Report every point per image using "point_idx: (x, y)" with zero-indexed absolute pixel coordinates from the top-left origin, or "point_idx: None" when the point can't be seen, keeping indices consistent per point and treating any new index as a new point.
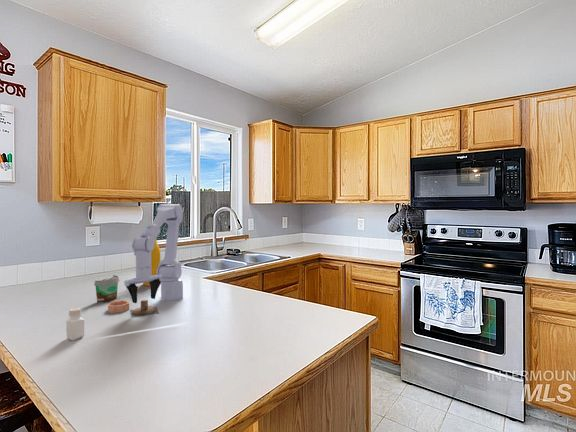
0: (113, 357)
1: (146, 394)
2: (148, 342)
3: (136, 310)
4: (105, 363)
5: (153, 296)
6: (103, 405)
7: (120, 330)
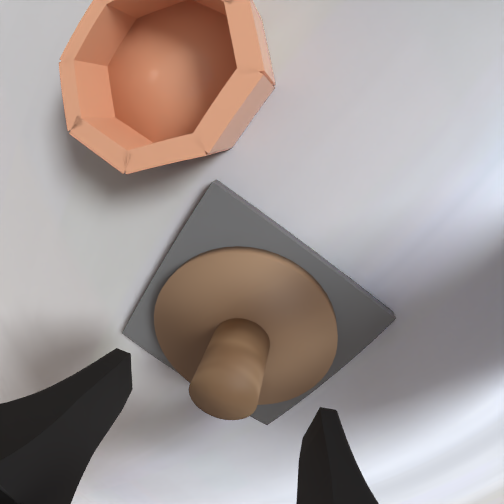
0: None
1: None
2: (91, 469)
3: (192, 301)
4: None
5: (302, 456)
6: None
7: (50, 373)
